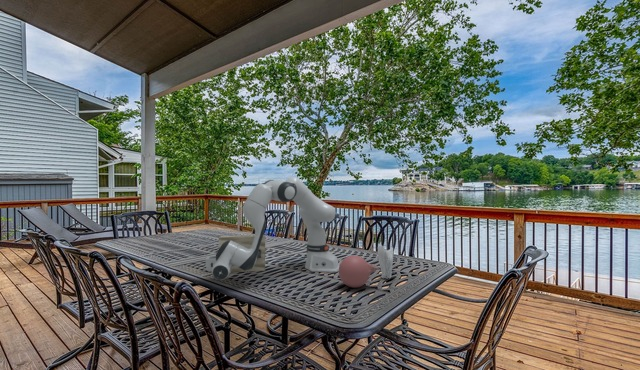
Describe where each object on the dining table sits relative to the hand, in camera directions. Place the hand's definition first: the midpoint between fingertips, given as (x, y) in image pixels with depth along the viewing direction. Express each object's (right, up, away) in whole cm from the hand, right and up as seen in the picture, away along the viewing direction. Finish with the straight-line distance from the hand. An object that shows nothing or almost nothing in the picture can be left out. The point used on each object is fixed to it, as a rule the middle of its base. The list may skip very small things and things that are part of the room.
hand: (227, 257), depth 168 cm
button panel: (+5, -10, +13) cm, 17 cm away
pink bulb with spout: (+71, -11, -18) cm, 74 cm away
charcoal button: (+15, -2, +8) cm, 17 cm away
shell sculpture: (+87, -11, -3) cm, 88 cm away
